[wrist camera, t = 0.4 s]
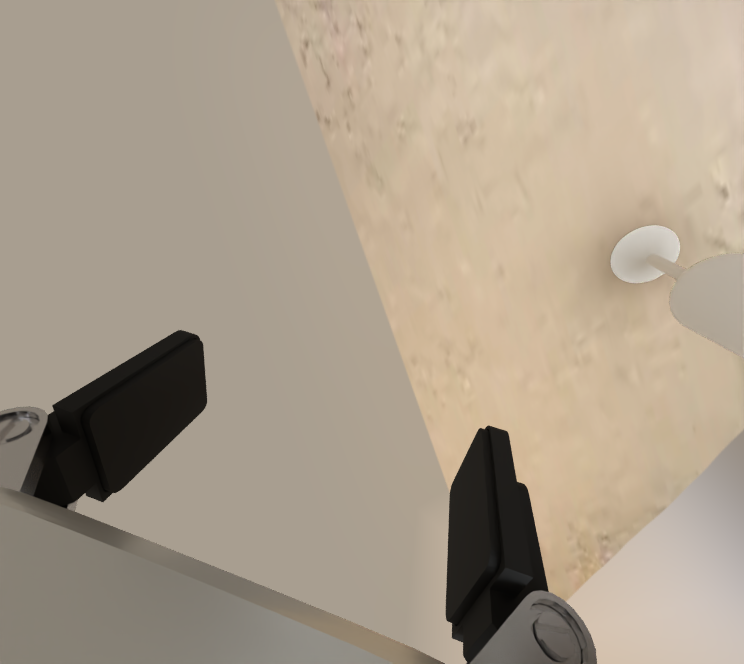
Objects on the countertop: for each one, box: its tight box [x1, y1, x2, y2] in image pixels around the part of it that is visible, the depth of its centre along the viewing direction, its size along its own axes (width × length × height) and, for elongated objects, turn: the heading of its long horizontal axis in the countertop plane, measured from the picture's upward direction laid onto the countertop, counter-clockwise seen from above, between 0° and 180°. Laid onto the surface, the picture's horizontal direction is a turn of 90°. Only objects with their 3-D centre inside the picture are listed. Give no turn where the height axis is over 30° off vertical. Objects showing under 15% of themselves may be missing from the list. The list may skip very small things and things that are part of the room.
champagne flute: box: [610, 225, 744, 358], centre depth 28 cm, size 7×7×24 cm
